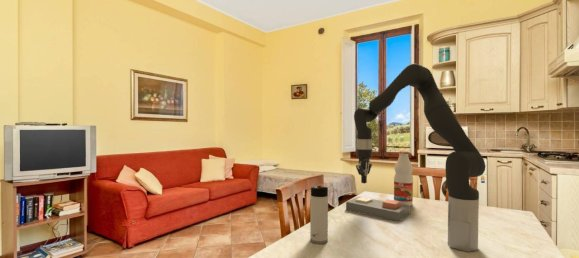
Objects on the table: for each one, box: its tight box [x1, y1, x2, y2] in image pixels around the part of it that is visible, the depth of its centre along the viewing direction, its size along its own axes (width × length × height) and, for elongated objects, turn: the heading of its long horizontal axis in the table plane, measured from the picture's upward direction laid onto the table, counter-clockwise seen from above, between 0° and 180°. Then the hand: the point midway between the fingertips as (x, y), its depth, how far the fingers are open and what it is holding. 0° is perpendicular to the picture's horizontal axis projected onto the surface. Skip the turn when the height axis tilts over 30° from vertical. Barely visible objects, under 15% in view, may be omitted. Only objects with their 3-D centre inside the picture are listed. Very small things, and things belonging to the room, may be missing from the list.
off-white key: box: [356, 196, 373, 204], centre depth 150 cm, size 6×6×4 cm
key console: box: [345, 196, 411, 222], centre depth 145 cm, size 14×26×4 cm, turn 49°
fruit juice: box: [393, 150, 414, 207], centre depth 159 cm, size 9×9×28 cm
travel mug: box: [309, 186, 329, 245], centre depth 109 cm, size 6×7×20 cm
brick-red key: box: [382, 199, 400, 209], centre depth 140 cm, size 6×6×4 cm
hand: (364, 183), depth 149 cm, fingers closed
